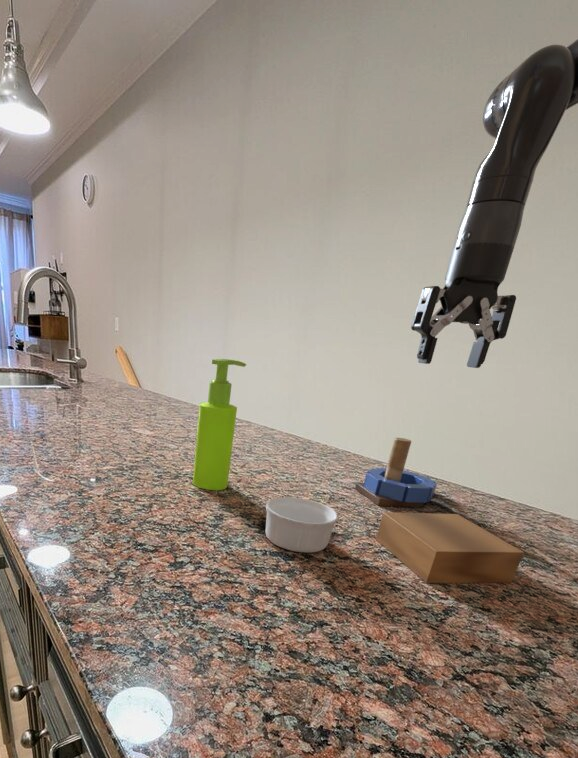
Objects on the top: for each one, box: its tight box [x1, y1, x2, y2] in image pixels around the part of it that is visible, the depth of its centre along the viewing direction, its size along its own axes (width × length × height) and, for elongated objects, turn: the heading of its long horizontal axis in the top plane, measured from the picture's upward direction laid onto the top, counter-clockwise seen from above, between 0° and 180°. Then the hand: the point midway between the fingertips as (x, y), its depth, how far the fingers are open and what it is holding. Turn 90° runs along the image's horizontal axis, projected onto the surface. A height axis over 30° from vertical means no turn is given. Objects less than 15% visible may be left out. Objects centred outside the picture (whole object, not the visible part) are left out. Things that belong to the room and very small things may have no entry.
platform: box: [375, 511, 525, 584], centre depth 55 cm, size 11×11×4 cm
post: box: [354, 437, 424, 508], centre depth 75 cm, size 8×8×10 cm
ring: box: [363, 467, 438, 504], centre depth 76 cm, size 11×11×2 cm
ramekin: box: [264, 496, 339, 554], centre depth 57 cm, size 9×9×4 cm
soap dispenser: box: [192, 358, 247, 491], centre depth 72 cm, size 6×7×20 cm
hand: (448, 365), depth 69 cm, fingers open, 8 cm apart
